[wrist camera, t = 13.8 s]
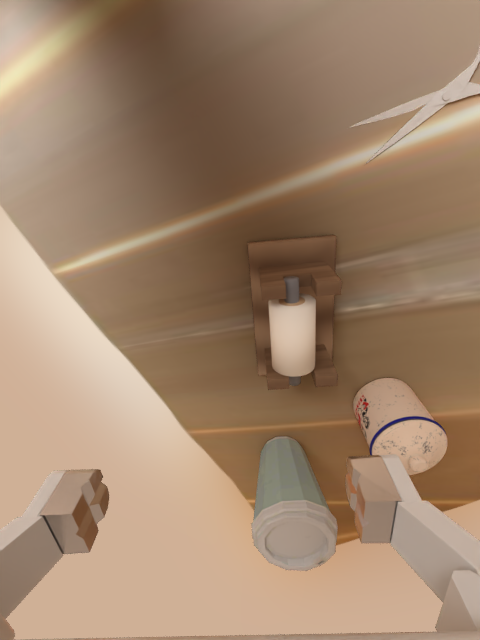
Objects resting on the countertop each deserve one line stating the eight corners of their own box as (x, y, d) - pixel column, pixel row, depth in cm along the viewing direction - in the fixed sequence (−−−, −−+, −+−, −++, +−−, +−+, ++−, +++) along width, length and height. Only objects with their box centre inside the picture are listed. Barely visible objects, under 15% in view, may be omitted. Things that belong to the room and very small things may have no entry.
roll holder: (247, 242, 39) (247, 260, 31) (334, 234, 38) (354, 251, 31) (258, 371, 46) (260, 409, 39) (330, 366, 46) (346, 404, 38)
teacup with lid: (344, 385, 47) (372, 449, 36) (409, 367, 45) (459, 428, 35) (360, 444, 52) (390, 516, 41) (420, 430, 50) (466, 501, 40)
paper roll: (315, 270, 36) (269, 272, 37) (316, 286, 32) (264, 287, 33) (315, 370, 41) (275, 369, 43) (315, 395, 37) (270, 393, 38)
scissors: (575, 83, 31) (374, 195, 36) (567, 84, 32) (371, 194, 36) (557, -50, 28) (335, 94, 32) (549, -44, 28) (333, 95, 33)
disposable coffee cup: (235, 451, 53) (232, 550, 39) (283, 411, 49) (296, 505, 36) (283, 482, 56) (295, 585, 42) (331, 447, 52) (361, 547, 38)
